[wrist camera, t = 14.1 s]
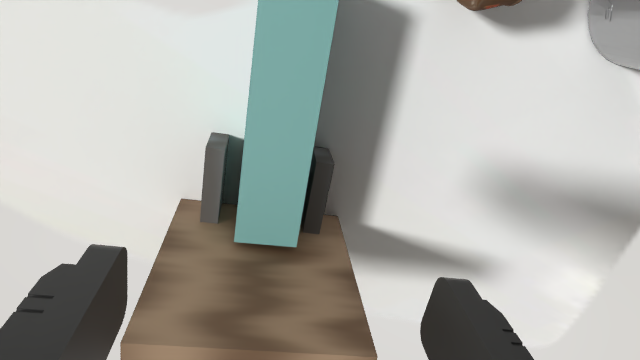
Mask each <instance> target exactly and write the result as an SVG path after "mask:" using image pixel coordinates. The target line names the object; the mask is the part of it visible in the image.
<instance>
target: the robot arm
mask: <svg viewBox="0 0 640 360" xmlns="http://www.w3.org/2000/svg"><path fill="white" fill-rule="evenodd" d="M588 26H589V32H590V35H591V39H592V42H593V44H594V45H595V47H596V48H597V50H598V52H599V53H600V54H601V55H603V56H604V57H605V58H606V59H607V60H609V61H611V62H613V63H615V64H617V65H621V66H625V67H630V68H634V69H638V70H640V0H590V2H589V10H588ZM126 305H127V250H126V248H125V247H116V246H105V245H95V244H92V245H90V246H89V247H88V248H87V250H86V251H85V253H84V254H83V256H82V257H81V259H80V260H79V261H78V263H77V264H76V265H73V264H61V265H59V266H58V267H56V268H55V269H53V270H52V271H50V272H48V273H47V274H45V275H44V276H42V277H41V278H40V279H39V281H38V282H37V283H36V285H35V286H34V287H33V288H32V290H31V291H30V292H29V293H28V297H25V298H24V300H23V301H22V302H21V304H20V305H19V306H18V307H17V311H16V312H13V314H12V315H11V316H10V318H9V319H8V320H7V321H6V323H5V324H4V325H3V327H2V328H1V329H0V360H106V359H107V356H108V354H109V352H110V349H111V347H112V345H113V343H114V340H115V338H116V336H117V334H118V332H119V329H120V327H121V325H122V322H123V319H124V315H125V311H126ZM420 333H421V341H422V344H423V347H424V349H425V352H426V354H427V357H428V359H429V360H534V359H533V357H532V356H531V354H530V353H529V352H528V350H527V349H526V347H525V346H523V345H522V341H521V340H520V339H519V337H518V336H517V334H516V333H514V332H513V328H512V327H511V326H510V324H509V323H508V321H507V320H506V318H505V317H504V316H503V314H502V313H501V312H499V311H498V310H497V309H496V308H495V307H494V306H492V305H491V304H490V303H489V302H488V301H487V300H482V298H481V297H480V295H479V294H478V292H477V291H476V289H475V288H474V286H473V285H472V283H471V282H470V281H469V280H466V279H455V278H444V277H440V278H438V280H437V281H436V283H435V285H434V288H433V291H432V293H431V296H430V299H429V302H428V304H427V307H426V310H425V313H424V316H423V318H422V322H421V330H420Z"/></svg>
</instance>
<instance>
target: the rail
mask: <svg viewBox="0 0 640 360" xmlns="http://www.w3.org/2000/svg"><path fill="white" fill-rule="evenodd" d="M338 2H339V0H258V8H257V18H256V28H255V38H254V48H253V58H252V68H251V78H250V88H249V98H248V108H247V118H246V128H245V137H244V147H243V157H242V167H241V177H240V187H239V197H238V207H237V217H236V227H235V237H234V242H239V243H251V244H263V245H275V246H286V247H297V241H298V235H299V229H300V224H301V218H302V212H303V206H304V200H305V194H306V189H307V183H308V177H309V171H310V165H311V159H312V154H313V148H314V142H315V136H316V130H317V125H318V119H319V113H320V107H321V101H322V95H323V90H324V84H325V78H326V72H327V66H328V60H329V55H330V49H331V43H332V37H333V31H334V25H335V20H336V14H337V8H338Z"/></svg>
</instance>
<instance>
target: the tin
mask: <svg viewBox="0 0 640 360" xmlns="http://www.w3.org/2000/svg"><path fill="white" fill-rule="evenodd" d="M457 1H458V2H459V3H460V4H461V5H463V6H464V7H466V8H467V9H469V10H472V11H478V10H484V9H489V8H493V7H498V6H502V5H505V6H512V5H515V4H517V3H519V2H521V1H522V0H457Z"/></svg>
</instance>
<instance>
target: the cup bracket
mask: <svg viewBox="0 0 640 360" xmlns="http://www.w3.org/2000/svg"><path fill="white" fill-rule="evenodd" d="M228 142H229V135H227V134H219V133H211V136H210V138H209V141H208V143H207V146H206V151H205V163H204V175H203V188H202V200H201V201H197V200H188V199H181V200H180V203H179V205H178V207H177V210H176V212H175V215H174V217H173V219H172V222H171V224H170V226H169V229H168V231H167V234H166V236H165V238H164V241H163V243H162V245H161V248H160V250H159V253H158V255H157V257H156V260H155V262H154V265H153V267H152V269H151V272H150V274H149V276H148V279H147V281H146V284H145V286H144V288H143V291H142V293H141V296H140V298H139V300H138V303H137V305H136V307H135V310H134V312H133V315H132V317H131V320H130V322H129V324H128V327H127V329H126V332H125V334H124V336H123V339H122V341H121V360H377V354H376V350H375V346H374V343H373V339H372V336H371V332H370V329H369V325H368V322H367V318H366V315H365V311H364V308H363V304H362V300H361V297H360V293H359V290H358V286H357V283H356V279H355V276H354V272H353V269H352V265H351V262H350V258H349V255H348V251H347V247H346V244H345V240H344V237H343V233H342V230H341V226H340V223H339V219H338V216H330V215H324V210H325V205H326V201H327V196H328V191H329V187H330V182H331V177H332V173H333V168H334V162H333V159H332V157H331V154H330V151H329V149H327V148H320V147H314V148H313V154H312V159H311V165H310V171H309V177H308V183H307V189H306V194H305V200H304V206H303V212H302V218H301V224H300V229H299V235H298V241H297V247H286V246H275V245H263V244H251V243H239V242H234V237H235V227H236V217H237V207H238V205H232V204H223V203H222V200H223V190H224V180H225V171H226V161H227V151H228Z"/></svg>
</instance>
